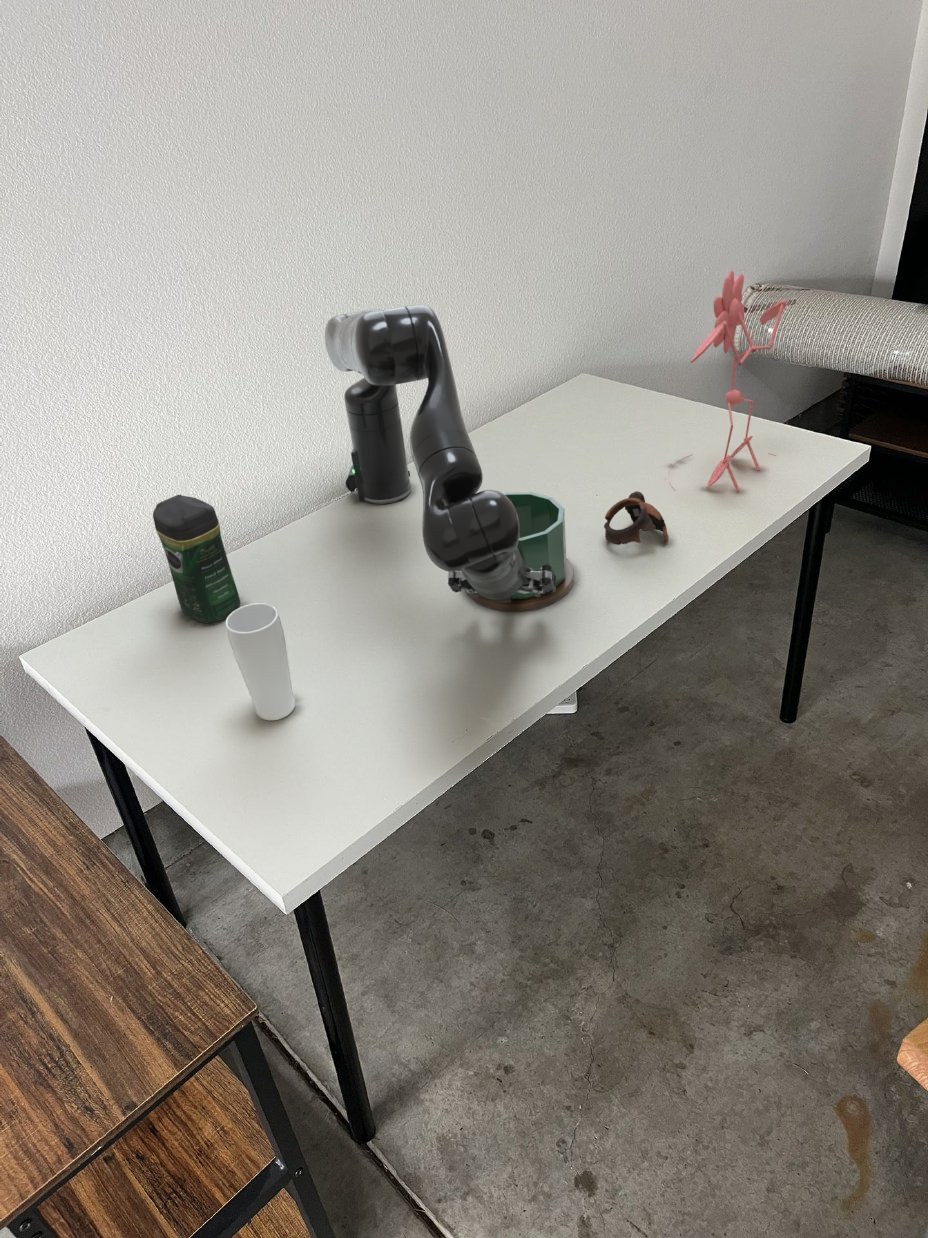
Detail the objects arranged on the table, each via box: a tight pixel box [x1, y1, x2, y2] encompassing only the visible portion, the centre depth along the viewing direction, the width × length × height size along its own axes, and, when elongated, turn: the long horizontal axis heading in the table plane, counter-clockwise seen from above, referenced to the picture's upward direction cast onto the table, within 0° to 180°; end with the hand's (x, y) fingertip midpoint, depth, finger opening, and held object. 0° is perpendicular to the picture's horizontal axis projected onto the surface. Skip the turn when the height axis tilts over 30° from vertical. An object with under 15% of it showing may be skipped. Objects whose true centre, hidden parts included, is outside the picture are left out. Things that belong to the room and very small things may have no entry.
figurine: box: [665, 270, 787, 492], centre depth 161 cm, size 15×26×35 cm, turn 144°
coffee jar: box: [152, 494, 242, 624], centre depth 144 cm, size 10×8×19 cm
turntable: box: [464, 557, 575, 613], centre depth 147 cm, size 17×17×1 cm
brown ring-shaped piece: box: [603, 490, 669, 546], centre depth 154 cm, size 12×10×8 cm
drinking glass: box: [224, 602, 296, 721], centre depth 123 cm, size 7×7×15 cm
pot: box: [495, 491, 567, 603], centre depth 140 cm, size 25×15×10 cm, turn 172°
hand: (508, 589), depth 136 cm, fingers open, 8 cm apart
